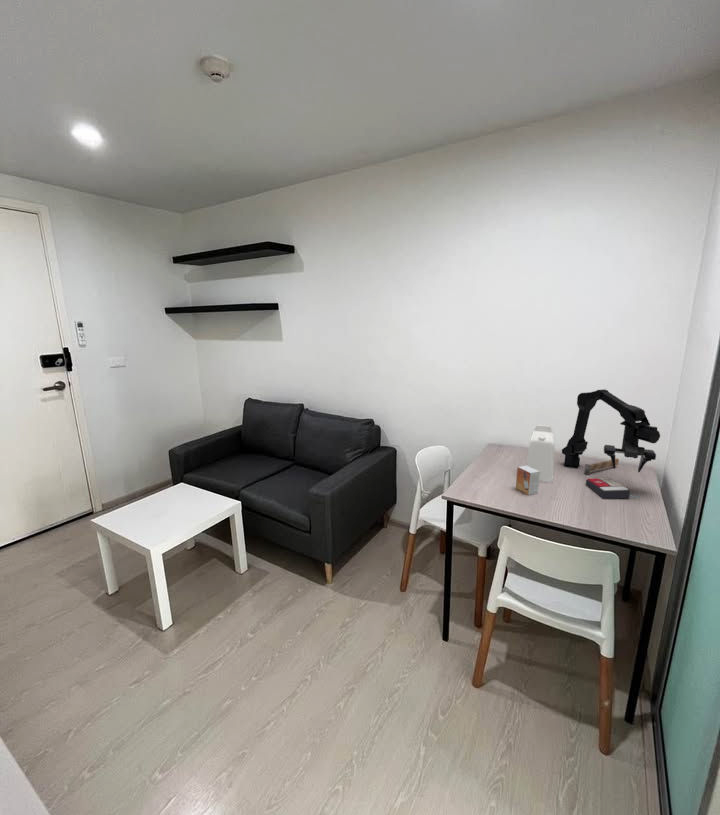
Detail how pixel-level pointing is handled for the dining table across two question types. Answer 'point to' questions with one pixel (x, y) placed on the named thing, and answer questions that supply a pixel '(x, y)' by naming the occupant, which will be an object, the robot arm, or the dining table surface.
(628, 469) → the dining table surface
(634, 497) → the mat
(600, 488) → the calculator
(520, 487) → the small box
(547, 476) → the milk
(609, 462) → the bar
